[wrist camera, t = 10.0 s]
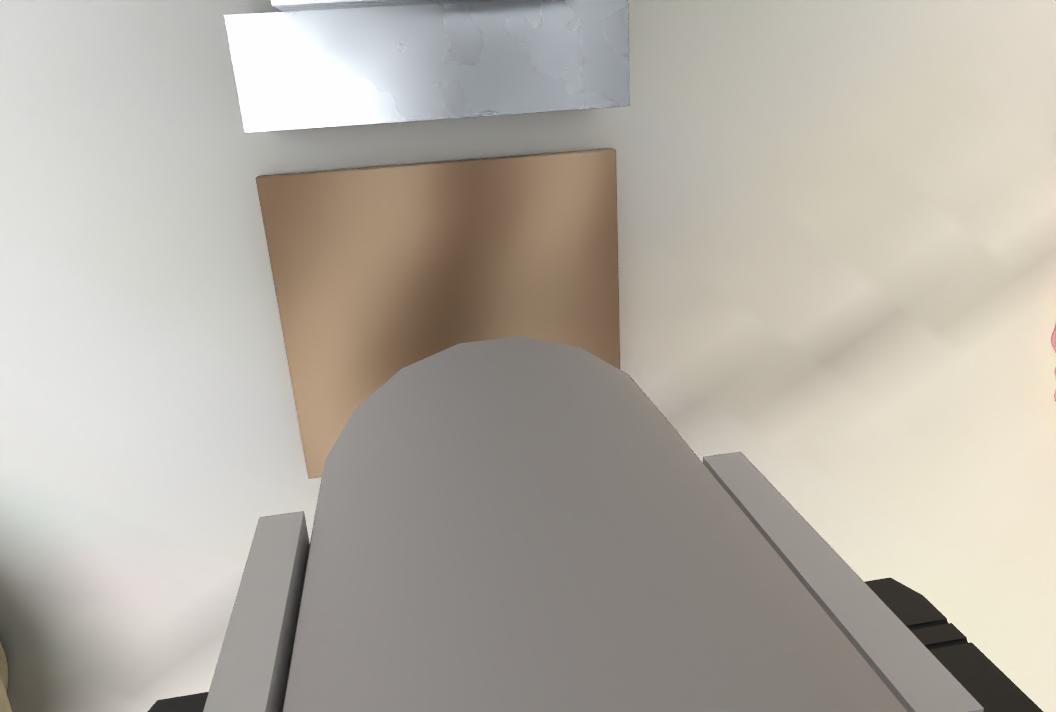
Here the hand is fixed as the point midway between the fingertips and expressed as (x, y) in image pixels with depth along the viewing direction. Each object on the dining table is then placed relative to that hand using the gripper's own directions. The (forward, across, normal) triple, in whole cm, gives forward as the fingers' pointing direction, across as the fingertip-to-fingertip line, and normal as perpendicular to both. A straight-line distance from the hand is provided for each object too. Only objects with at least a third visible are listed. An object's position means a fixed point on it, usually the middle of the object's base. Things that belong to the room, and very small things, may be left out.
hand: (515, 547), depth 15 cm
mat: (+15, 0, 0) cm, 15 cm away
